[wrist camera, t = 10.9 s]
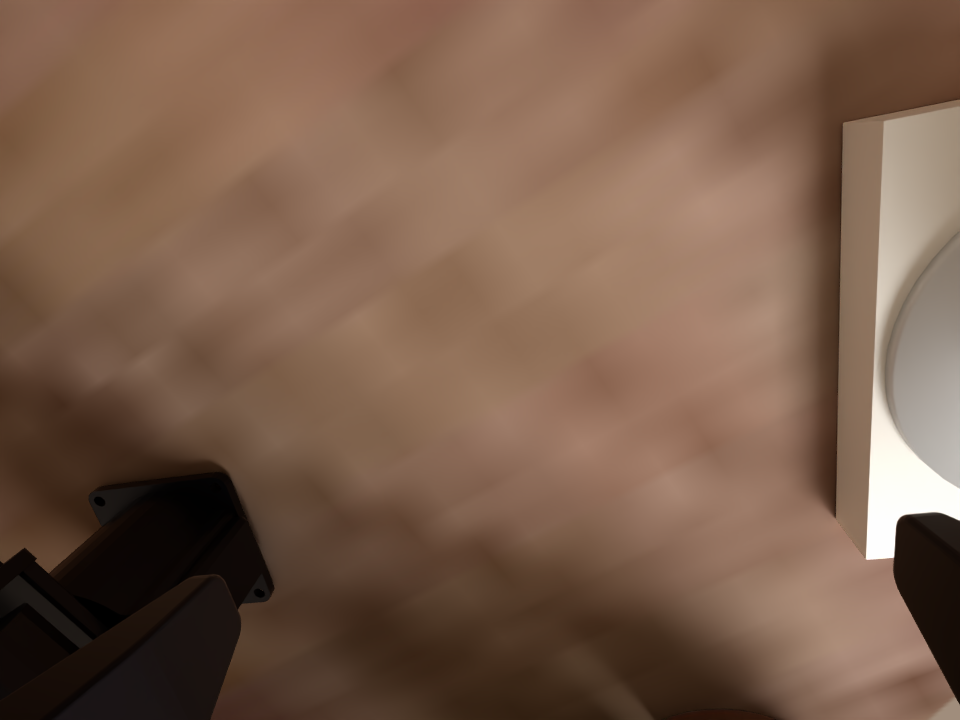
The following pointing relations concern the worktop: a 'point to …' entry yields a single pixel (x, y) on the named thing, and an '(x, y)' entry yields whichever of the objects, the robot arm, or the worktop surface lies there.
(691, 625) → the worktop surface
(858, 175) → the scale
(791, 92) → the worktop surface
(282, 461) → the worktop surface
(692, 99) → the worktop surface
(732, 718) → the food container
